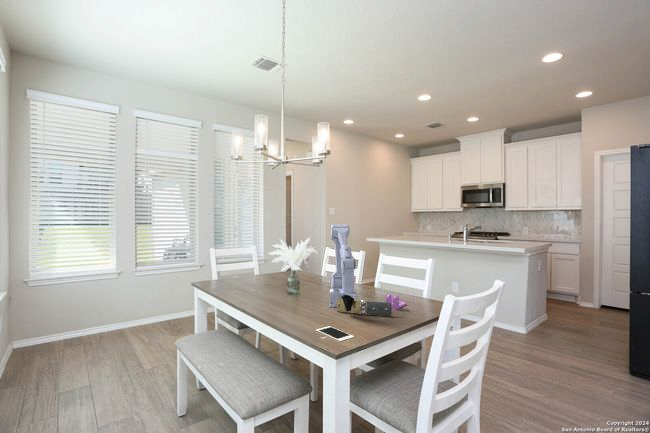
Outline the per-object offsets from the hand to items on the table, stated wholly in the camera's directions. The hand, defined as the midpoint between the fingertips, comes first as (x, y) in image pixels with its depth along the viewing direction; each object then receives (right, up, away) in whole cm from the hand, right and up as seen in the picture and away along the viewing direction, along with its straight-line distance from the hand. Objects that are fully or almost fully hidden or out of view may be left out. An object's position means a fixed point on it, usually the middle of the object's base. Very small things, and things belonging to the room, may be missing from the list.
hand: (348, 310), depth 156 cm
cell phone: (-7, -3, -24) cm, 25 cm away
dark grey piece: (+14, -2, +1) cm, 14 cm away
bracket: (+27, -3, +17) cm, 32 cm away
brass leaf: (+2, -2, +5) cm, 5 cm away
